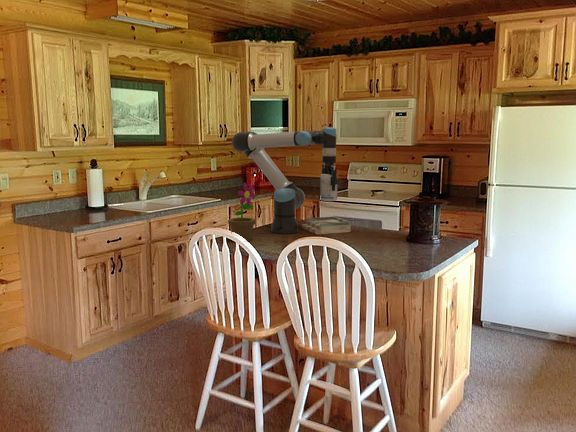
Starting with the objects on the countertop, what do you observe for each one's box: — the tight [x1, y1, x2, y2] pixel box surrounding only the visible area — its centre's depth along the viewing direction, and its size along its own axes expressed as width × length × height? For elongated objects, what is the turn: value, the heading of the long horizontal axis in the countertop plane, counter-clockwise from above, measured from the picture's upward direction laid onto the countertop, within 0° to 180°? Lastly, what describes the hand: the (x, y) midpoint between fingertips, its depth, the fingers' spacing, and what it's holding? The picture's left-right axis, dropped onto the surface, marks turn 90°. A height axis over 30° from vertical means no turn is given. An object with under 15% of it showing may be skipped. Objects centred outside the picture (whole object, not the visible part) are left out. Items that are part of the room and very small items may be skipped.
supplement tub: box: [319, 173, 338, 202], centre depth 304 cm, size 10×10×15 cm
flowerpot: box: [227, 182, 257, 242], centre depth 280 cm, size 14×14×30 cm
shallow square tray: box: [301, 215, 352, 235], centre depth 307 cm, size 20×21×6 cm
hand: (328, 195), depth 305 cm, fingers closed on supplement tub, 9 cm apart
